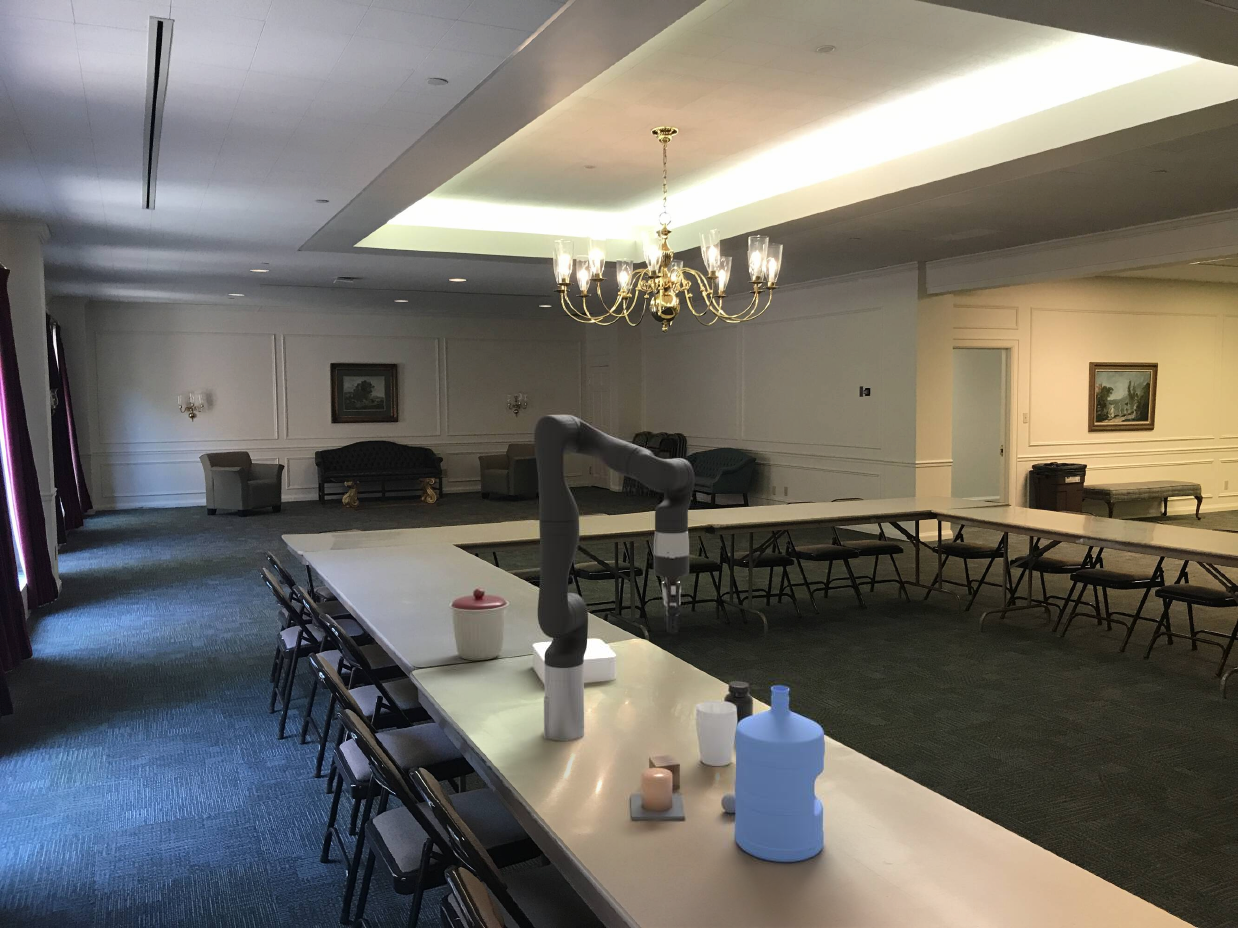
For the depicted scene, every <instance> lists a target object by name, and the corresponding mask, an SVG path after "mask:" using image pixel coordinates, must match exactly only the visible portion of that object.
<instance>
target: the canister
mask: <svg viewBox="0 0 1238 928" xmlns="http://www.w3.org/2000/svg"><path fill="white" fill-rule="evenodd" d="M472 594H473V595H465V596H462V597H459V598H458V597H457V598H456V599H454V600H453V601H452V602H450V603H449V605H448V607H449V608H450V609H451V615H452V616H451V617H452V624H453V634H454V640H455V645H456V646H455V647H456V650H457V653H458V655H459V656H460V657H461V658H463V659H465V660H468V661H486V660H491V659H494V658H496V657H498V656H499V655H500V654H501V652H502V649H503V644H504V637H505V630H506V629H505V627H506V617H507V607H508V606H509V601H508V600H506V599H504V598H503V597H500V596H497V595H493V594H486V593H485V590H484V589H483V588H475V589H474V590H473V592H472Z"/></svg>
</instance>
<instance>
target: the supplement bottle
mask: <svg viewBox="0 0 1238 928" xmlns="http://www.w3.org/2000/svg"><path fill="white" fill-rule="evenodd" d="M727 692H728V693H727V694H726V695H725V696H724V698H723V699H724V700H723V701H726V702H730V703H732V704H734V705H735V706H736V709H737V724H738V723H739V722H740V721H741V720H742V719H744V718H746V717H749V716H752V715H754V713H753V712H754V698H753V697H752V696H751V694H749V693H750V684H749V683H748V682H745V681H741V680H740V681H739V680H738V681H737V680H735V681H734V680H733V681H731V682H728V688H727ZM735 736H736V733H735Z"/></svg>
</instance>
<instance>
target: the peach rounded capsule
mask: <svg viewBox="0 0 1238 928" xmlns="http://www.w3.org/2000/svg"><path fill="white" fill-rule="evenodd" d="M640 778H641V779H640V781H641V782H640V783H641V784H640V786H641V787H640V789H641V791H640V792H641V793H640V794H641V803H642V807H643V808H644V809H646V810H649V811H654V812H660V811H665V810H668V809H670V808H671V807H672V805H673V797H672V794H673V789H672V773H671V772H670V771H669V770H667V769H663V768H650V769H649V768H646V769H645V770H643V771H642V772H641V773H640Z"/></svg>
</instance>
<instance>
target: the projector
mask: <svg viewBox="0 0 1238 928" xmlns="http://www.w3.org/2000/svg"><path fill="white" fill-rule="evenodd" d="M551 643H552V641H544V642H543V641H542V642H536V643H535V642H534V643H533V644H532V668H533V670H534V672H535V673H536V674H537V676H538V678H539V679H540V680H541V682H542V683H543V685H545V663H544V655H545V651H546V650H547V648H548V647H549V646H550V644H551ZM616 679H617V654H616V653H615V652H614V651H613V650H612V649H611V648H610V645H609V644H606V643H605V642H604V641H603V640H602V639H600V638H587V649H586V652H585V654H584V684H586V683H588V684H589V683H596V682H607V681H608V682H610V681H615V680H616Z"/></svg>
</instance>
